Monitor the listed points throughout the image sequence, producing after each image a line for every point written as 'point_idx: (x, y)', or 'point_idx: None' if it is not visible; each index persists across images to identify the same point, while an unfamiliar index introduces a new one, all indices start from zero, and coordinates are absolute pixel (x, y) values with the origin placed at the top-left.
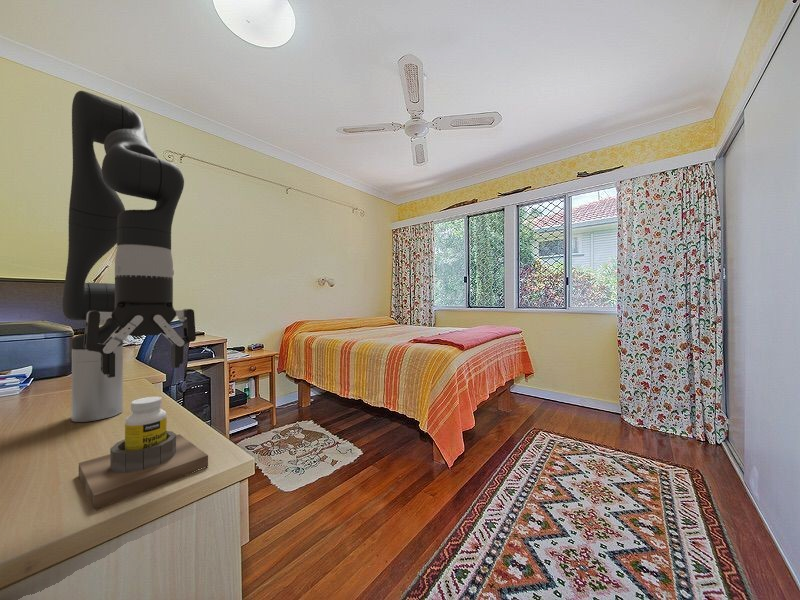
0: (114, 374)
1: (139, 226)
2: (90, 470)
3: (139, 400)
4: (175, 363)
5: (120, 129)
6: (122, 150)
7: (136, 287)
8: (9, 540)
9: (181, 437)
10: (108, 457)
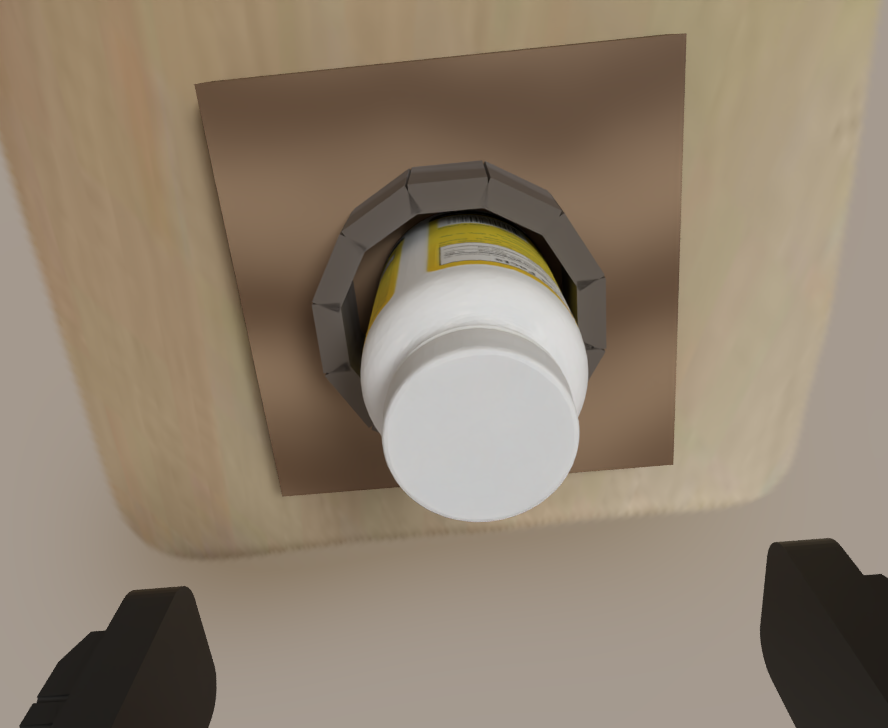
0: (207, 718)
1: None
2: (253, 243)
3: (436, 414)
4: (787, 703)
5: None
6: None
7: None
8: (108, 466)
9: (673, 112)
10: (318, 122)
